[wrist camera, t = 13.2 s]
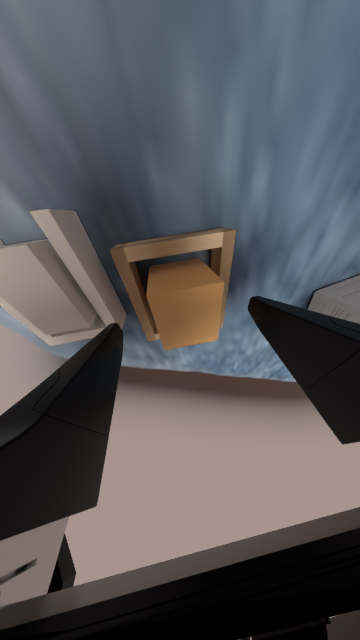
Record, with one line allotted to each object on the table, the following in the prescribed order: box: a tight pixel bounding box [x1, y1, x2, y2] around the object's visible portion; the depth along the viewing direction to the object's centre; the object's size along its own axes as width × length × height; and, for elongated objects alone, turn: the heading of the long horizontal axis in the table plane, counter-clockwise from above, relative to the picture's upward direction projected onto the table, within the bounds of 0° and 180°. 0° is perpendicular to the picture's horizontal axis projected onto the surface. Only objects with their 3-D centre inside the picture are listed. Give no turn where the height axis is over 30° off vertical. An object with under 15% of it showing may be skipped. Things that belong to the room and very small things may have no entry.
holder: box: [109, 228, 236, 341], centre depth 11 cm, size 8×8×2 cm
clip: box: [0, 209, 127, 346], centre depth 9 cm, size 6×8×2 cm
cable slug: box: [0, 239, 98, 335], centre depth 8 cm, size 3×5×4 cm, turn 7°
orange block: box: [146, 258, 224, 351], centre depth 10 cm, size 4×4×5 cm
